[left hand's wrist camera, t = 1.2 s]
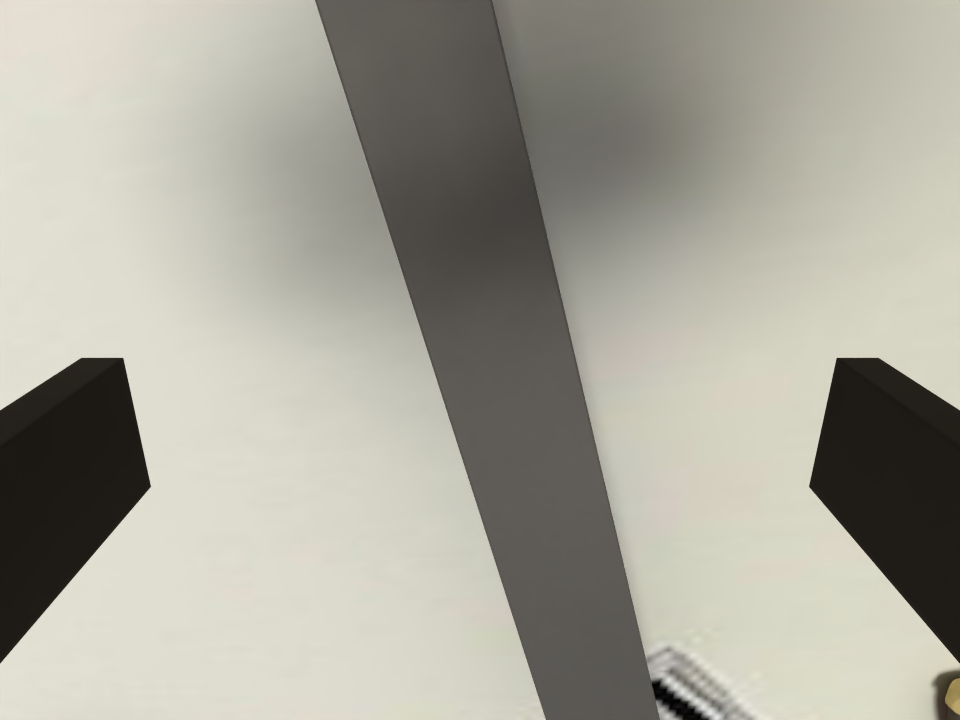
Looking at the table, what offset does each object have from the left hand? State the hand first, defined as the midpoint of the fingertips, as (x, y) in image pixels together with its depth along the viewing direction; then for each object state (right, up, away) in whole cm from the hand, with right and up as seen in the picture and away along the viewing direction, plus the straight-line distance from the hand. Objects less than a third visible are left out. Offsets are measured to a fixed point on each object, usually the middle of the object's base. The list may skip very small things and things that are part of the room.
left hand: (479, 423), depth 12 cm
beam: (+6, -15, +27) cm, 31 cm away
